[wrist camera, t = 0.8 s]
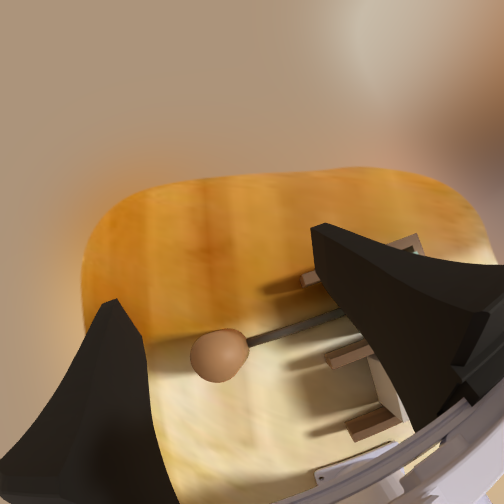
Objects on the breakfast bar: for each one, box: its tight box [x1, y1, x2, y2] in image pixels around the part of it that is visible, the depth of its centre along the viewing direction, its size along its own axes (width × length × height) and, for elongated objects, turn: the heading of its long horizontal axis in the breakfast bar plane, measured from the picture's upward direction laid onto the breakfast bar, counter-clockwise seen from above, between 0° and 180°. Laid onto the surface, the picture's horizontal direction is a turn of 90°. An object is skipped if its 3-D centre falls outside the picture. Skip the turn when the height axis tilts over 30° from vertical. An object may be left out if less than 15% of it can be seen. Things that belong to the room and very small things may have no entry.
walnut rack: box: [300, 233, 425, 442], centre depth 22 cm, size 14×10×3 cm
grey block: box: [367, 353, 409, 423], centre depth 20 cm, size 4×4×6 cm
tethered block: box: [190, 251, 418, 383], centre depth 21 cm, size 4×17×6 cm, turn 108°
